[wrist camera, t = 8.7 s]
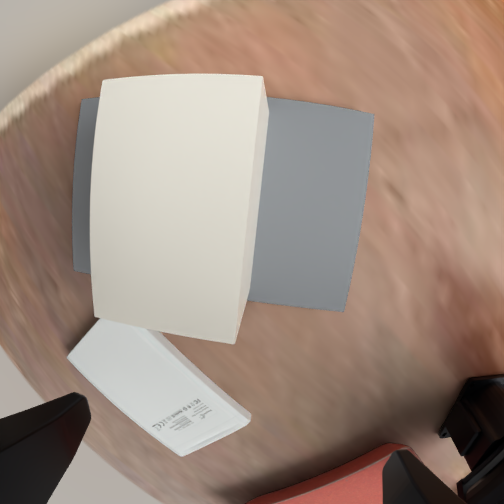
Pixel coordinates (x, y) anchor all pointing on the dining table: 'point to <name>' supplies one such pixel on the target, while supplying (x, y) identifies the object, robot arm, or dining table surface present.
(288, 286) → the base plate
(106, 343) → the external hard drive
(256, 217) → the block
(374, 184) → the dining table surface
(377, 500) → the plant saucer
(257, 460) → the dining table surface
